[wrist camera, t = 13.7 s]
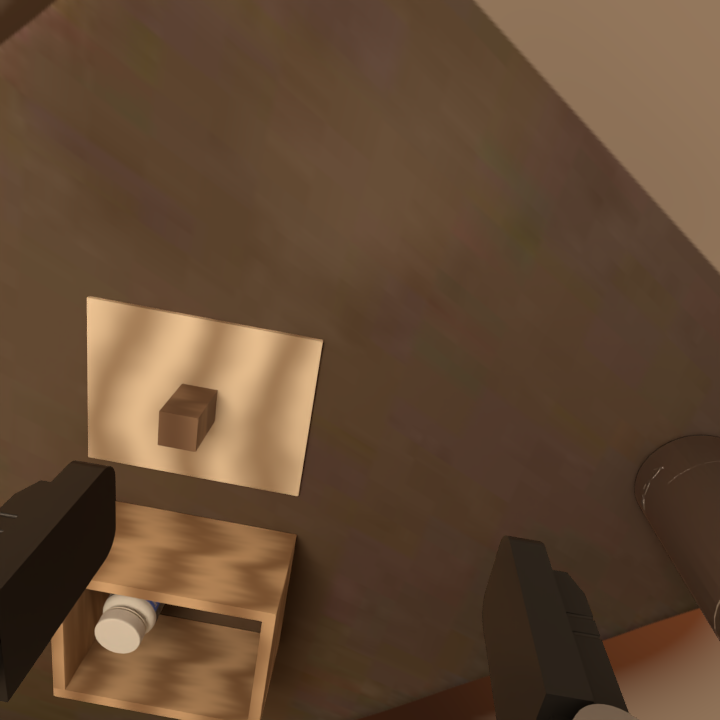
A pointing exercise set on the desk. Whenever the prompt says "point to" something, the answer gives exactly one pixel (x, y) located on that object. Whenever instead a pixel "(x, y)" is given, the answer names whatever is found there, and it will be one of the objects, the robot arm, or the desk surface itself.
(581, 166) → the desk surface
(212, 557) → the box
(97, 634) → the pill bottle
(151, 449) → the lid
